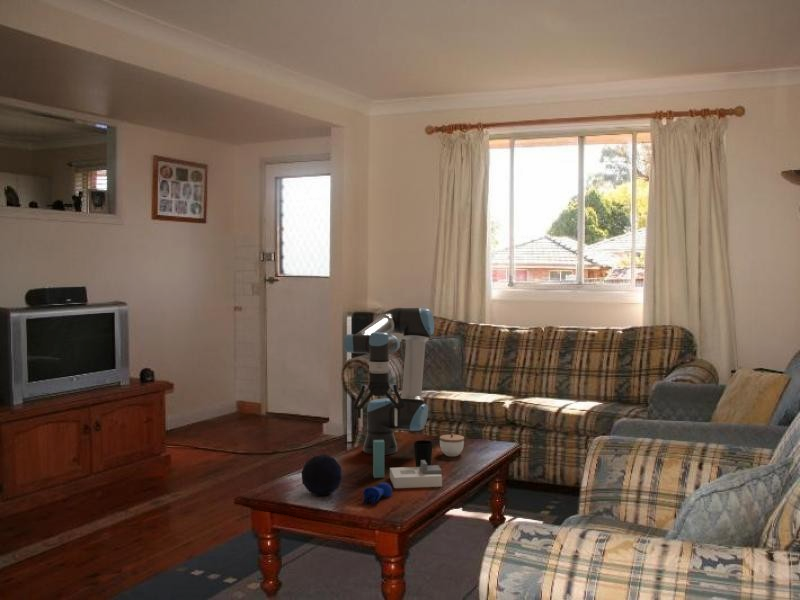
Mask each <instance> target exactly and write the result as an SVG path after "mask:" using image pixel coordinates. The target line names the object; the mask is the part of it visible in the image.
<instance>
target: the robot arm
mask: <svg viewBox="0 0 800 600" xmlns="http://www.w3.org/2000/svg"><path fill="white" fill-rule="evenodd" d="M434 332H435V320H434V316H433V312H432V311H431V309H428V308H425V307H424V308H423V307H396V308H390V309H388V310H386V311H384V312H382V313H380V314H378V315H377V316H376V317H375V319H374V321H372V322H371V323H369V324H368V325H366V327H364V328H363V329H361V330H360V331H359V332H357V333H355V334H354V333H351V334H350V333H349V334H346V335H345V336H344V337H343V341H342V342H343V343H342V344H343V345H342V346H343V350H344V352H346V353H351V354H369V356H368V357H369V360H368V361H369V362H368V364H369V367H368V368H369V369H368V370H369V373H368V381H369V382H368V384H363V383H362V384H361V386H360V390H359V392H358V395H357V396H356V398H355V400H354V402H353V404H352V407H353V409H354V410H357V411H356V413H357V419H359V426H360V428H364V427H363V425H364V423H363V422H364V421H363V420H364V419H363V418H364V417H363V415H364V413H363V411H364V410H363V407H364V406H365V405H366V404H367V410H366V418H367V420H366V423H367V424H366V426H367V427H366V428H367V429H366V431H367V432H366V433H367V434H366V436H365V440H364V444H363V445H362V446H363V447H362V450H363V453H365V454H367V455H373V440H384V442H385V451H384V456H387V455H388V456H389V455H392V454H396V453H397V452H398V444H397V441H396V437H395V434H394V430H400V431H402V430H403V431H411V432H412V431H422V430H423V429H424V428H425V426H426V423H427V420H428V416H429V407H428V405H427V404H426V403H425V399H424V398H423V396H422V393H423V392H422V391H423V390H422V389H423V380H424V378H423V377H424V367H425V366H424V365H425V352H426V343H427V342H428V341H429V340H430V336H432V335H433V334H434ZM393 334H401V335H403V336H402V337H403V339H404V340H405V352H404V366H403V378H402V389H401V395H400V394H399V391H398V389H397V384H396V383H392V384H389V383H390V382H389V377H390V376H389V375H390V374H389V361H390V360H389V355H391V354H394V353H396V352H397V351H398V350H399V348H400V340H399V338H398V337H397V336H396V335H393ZM367 389H368V390H369V392H368V393H367V395H366V396H365V397H364V399H363V400H362V401H361V399H362V397H363V396H364V393H365V391H367ZM390 389H391V390H392V391H393V392H394V394H395V396H396V399H397V402H396V400H395V399H394V398H393V397H392V396H391V395H390V394H389V392H388V391H389V390H390ZM373 396H374V397H384V396H386V397H384V398H377V399H372V400H370V399H371V398H372V397H373ZM369 400H370V401H369ZM360 401H361V402H360ZM368 401H369V402H368Z"/></svg>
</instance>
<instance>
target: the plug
mask: <svg viewBox="0 0 800 600" xmlns="http://www.w3.org/2000/svg"><path fill="white" fill-rule="evenodd" d="M384 451H385V442H384V440H373V456H372V460H373V461H372V464H373V465H372V466H373V467H372V470H373V471H372V472H373V473H372V475H373V478H374V479H376V478H377V479H379V478H380V479H381V478H385V455H384Z"/></svg>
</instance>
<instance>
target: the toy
mask: <svg viewBox="0 0 800 600" xmlns="http://www.w3.org/2000/svg"><path fill="white" fill-rule="evenodd" d="M392 494H393V488H392V486H391V485H390V484H389V483H388V482H384V481H383V482H379V483H378V484H377V485H376V486H371V487H370V486H368V487H365V488H364V490H363V496H364V498H363V502H362V503H363V505H367V504H368V502H369V503H371V506H376V503H377V502H379V500H380V499H381V498H390V497H391V496H393V495H392Z"/></svg>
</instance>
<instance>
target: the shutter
mask: <svg viewBox="0 0 800 600" xmlns="http://www.w3.org/2000/svg"><path fill="white" fill-rule="evenodd" d="M420 470H421V472H422V473H423V474H435V473H440V474H442V471H443V470H442V468H441V467H440V465H438V464H436V465H434V464H433V465H432V464H431V465H430V466H427V463H426V461H425V460H421V466H420Z"/></svg>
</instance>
